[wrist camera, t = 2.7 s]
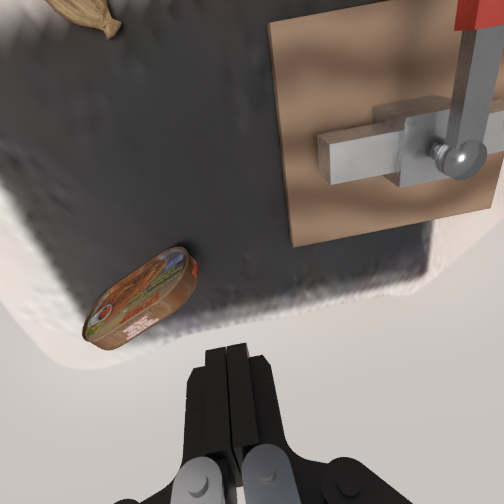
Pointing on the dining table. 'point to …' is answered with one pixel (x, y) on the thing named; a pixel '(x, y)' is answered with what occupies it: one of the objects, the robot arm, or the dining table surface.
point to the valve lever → (471, 88)
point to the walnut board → (365, 112)
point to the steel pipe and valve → (398, 142)
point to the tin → (142, 299)
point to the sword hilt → (87, 14)
